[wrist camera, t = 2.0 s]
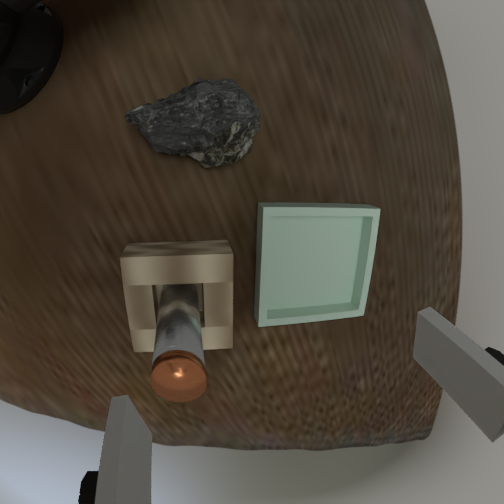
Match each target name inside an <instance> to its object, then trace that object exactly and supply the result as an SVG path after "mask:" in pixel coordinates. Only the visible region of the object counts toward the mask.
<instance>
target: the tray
mask: <svg viewBox="0 0 504 504" xmlns="http://www.w3.org/2000/svg"><path fill="white" fill-rule="evenodd" d="M379 216H380V209H379V208H377V207H374V206H372V205H369V204H348V203H298V202H258V209H257V238H256V266H255V294H254V317H255V320H256V322H257V325H258V327H263V326H275V325H286V324H296V323H305V322H315V321H323V320H332V319H340V318H348V317H355V316H363V315H364V310H365V305H366V300H367V295H368V289H369V284H370V278H371V272H372V266H373V260H374V253H375V246H376V239H377V232H378V224H379Z"/></svg>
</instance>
